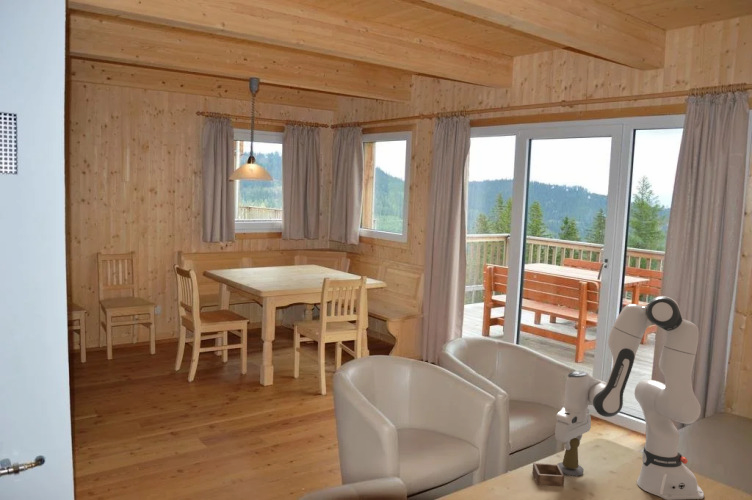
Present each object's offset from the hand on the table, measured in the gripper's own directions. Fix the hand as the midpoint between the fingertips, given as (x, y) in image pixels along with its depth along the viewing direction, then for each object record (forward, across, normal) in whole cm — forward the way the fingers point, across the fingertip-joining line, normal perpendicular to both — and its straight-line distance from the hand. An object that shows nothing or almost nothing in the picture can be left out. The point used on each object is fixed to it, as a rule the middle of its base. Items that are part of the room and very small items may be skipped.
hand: (572, 447), depth 241 cm
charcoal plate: (+10, 0, 0) cm, 10 cm away
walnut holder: (+10, +14, -1) cm, 17 cm away
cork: (+8, 0, 0) cm, 8 cm away
